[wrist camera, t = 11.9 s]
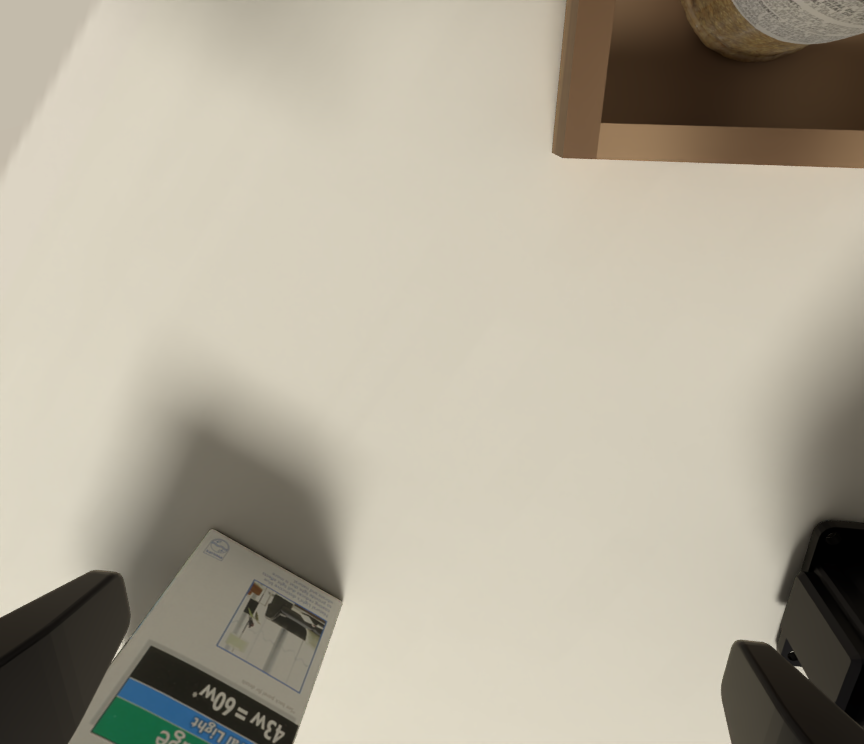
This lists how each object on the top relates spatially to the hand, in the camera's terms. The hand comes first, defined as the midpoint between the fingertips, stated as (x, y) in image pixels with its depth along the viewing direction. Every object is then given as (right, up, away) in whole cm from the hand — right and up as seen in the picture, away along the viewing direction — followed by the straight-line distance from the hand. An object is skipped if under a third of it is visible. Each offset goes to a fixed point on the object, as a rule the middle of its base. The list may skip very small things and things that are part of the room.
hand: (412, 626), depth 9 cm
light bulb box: (-9, -8, +19) cm, 22 cm away
